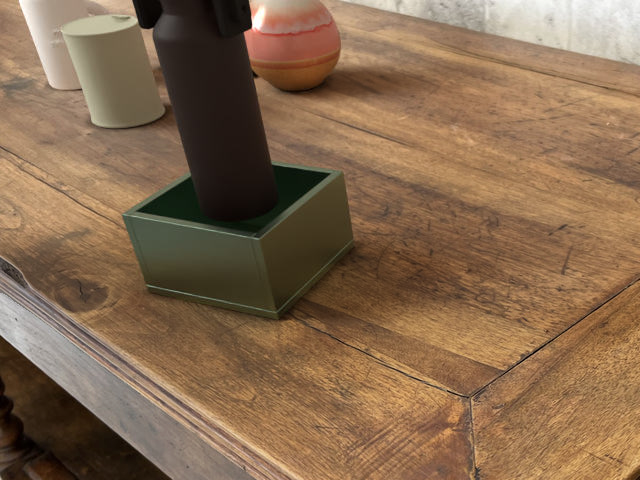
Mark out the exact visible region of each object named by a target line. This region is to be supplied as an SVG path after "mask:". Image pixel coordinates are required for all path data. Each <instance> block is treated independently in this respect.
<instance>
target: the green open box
mask: <svg viewBox="0 0 640 480" xmlns="http://www.w3.org/2000/svg"><path fill="white" fill-rule="evenodd" d="M271 163H272V167H273V172H274V177H275V182H276V186H277V191H278V196H279V201H278V203H277V205H276V207H275V208H274V209H272V210H271V211H270V212H269V213H267V214H265V215H263V216H261V217H258V218H255V219H251V220H247V221H241V222H222V221H216V220H213V219H211V218H208V217H206V216H205V215H204V214H203V213H202V211H201V209H200V205H199V202H198V198H197V195H196V191H195V188H194V184H193V180H192V177H191V173H190V170H189V171H188V172H185V173H184V174H182V175H181V176H179V177H178V178H176V179H175V180H173V181H172V182H170V183H168V184H167V185H165V186H163V187H162V188H160V189H159V190H157V191H156V192H154V193H153V194H150V195H149V196H148V197H146V198H145V199H143V200H141V201H140V202H138V203H137V204H135V205H133V206H132V207H130V208H129V209H127V210H125V211H124V212H122V213H121V218H122V220H123V223H124V226H125V229H126V232H127V234H128V238H129V240H130V243H131V246H132V249H133V251H134V254H135V257H136V260H137V263H138V266H139V268H140V272H141V274H142V277H143V280H144V283H145V286H146V288H147V292H148V293H149V294H155V295H158V296H164V297H168V298H173V299H178V300H183V301H187V302H190V303H191V302H192V303H197V304H202V305H206V306H211V307H216V308H219V309H220V308H221V309H225V310H230V311H235V312H239V313H244V314H248V315H253V316H258V317H263V318H267V319H271V320H277V321H279V320H280V319H281V318H282V317H283V316H284V315H285V314H286V313H287V312H288V311H289V310H291V308H292V307H293V306H295V305H296V303H298V302H299V300H301V299H302V298H303V297H304V296H305V295H306V294H307V293H308V292H309V291H310V290H311V289H312V288H313V287H314V286H315V285H316V284H317V283H318V282H319V281H320V280H321V279H322V278H323V277H324V276H325V275H327V273H329V271H331V269H332V268H334V266H335V265H337V264H338V263H339V262H340V261H341V260H342V259H343V258H344V257H345V256H346V255H347V254H349V252H350V251H352V249H353V248H354V247H355V245H356V244H355V239H354V233H353V226H352V225H353V224H352V219H351V212H350V207H349V199H348V194H347V187H346V181H345V174H344V173H345V172H344V171H343V170H339V169H333V168H325V167H318V166H313V165H305V164H298V163H292V162H286V161H279V160H273V159H271Z"/></svg>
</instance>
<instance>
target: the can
mask: <svg viewBox="0 0 640 480" xmlns="http://www.w3.org/2000/svg"><path fill="white" fill-rule="evenodd" d="M61 32H62V34H63V37H64V39H65V42H66V44H67V47H68V50H69V53H70V56H71V58H72V61H73V64H74V67H75V70H76V72H77V75H78V78H79V81H80V84H81V87H82V89H81V90H82V92H83V95H84V98H85V101H86V105H87V108H88V111H89V115H90V120H91V122H92V124H93V125H95V126H97V127H100V128H103V129H128V128H134V127H139V126H144V125H147V124H149V123H150V124H151V123H152V122H155V121H157V120H159V119H160V118H161V117H163V116H164V114H165V113H166V108H165V106H164V104H163V102H162V97H161V95H160V92H159V88H158V86H157V82H156V78H155V76H154V72H153V68H152V64H151V61H150V58H149V54H148V51H147V47H146V43H145V39H144V37H143V36H144V35H143V32H142V28H141V27H140V26H139V23H138V19H137V16H134V15H128V14H115V13H114V14H112V15H98V16H94V15H92V16H89V17H85V18H81V19H77V20H74V21H71V22H68V23H66V24H64V25H63V26H62V27H61Z"/></svg>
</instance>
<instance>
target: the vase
mask: <svg viewBox="0 0 640 480" xmlns="http://www.w3.org/2000/svg"><path fill="white" fill-rule="evenodd" d="M249 4H250V8H251V19H252V28H251V29H250V30H248V31H245V32H244V35H245V40H246V44H247V49H248V54H249V59H250V63H251V68H252V70H253V71H254V72H255V73H256V75H257V76H258V77H259V78H261V80H264V81H266V82H267V83H269V84H270V85H271V86H273V87H274V88H276V89H278V90H282V91H286V92H288V91H289V92H299V91H305V90H311V89H314V88H316V87H318V86H320V85H322V84H323V82H325V80H326V79H327V77H328V76H330V75H331V73H332V72H333V71H334V69H336V66H337V65H338V62H339V60H340V57H341V52H342V41H341V36H340V30H339V28H338V24H337V22H336V20H335V18H334V16H333V14H332V12H331V11H330V10H329V8H328V7H327V6H326V5H325V4H324V3H323V1H321V0H251V1H249Z"/></svg>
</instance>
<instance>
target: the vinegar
mask: <svg viewBox="0 0 640 480" xmlns="http://www.w3.org/2000/svg"><path fill="white" fill-rule="evenodd" d="M159 1H161V5H162V9H163V12H162V14H161V16H160V18H159V19H158V21H157V23H156V24H155V26H154V28H152V32H151V33H152V34H151V37H152V41H153V44H154V48H155V49H154V50H155V52H156V56H157V59H158V63H159V66H160V70H161V74H162V77H163V81H164V84H165V87H166V91H167V94H168V95H167V96H168V98H169V102H170V105H171V109H172V113H173V116H174V120H175V123H176V126H177V131H178V134H179V138H180V141H181V144H182V148H183V151H184V156H185V158H186V162H187V166H188V169H189V171H190V173H191V177H192V180H193V184H194V188H195V191H196V195H197V198H198V202H199V205H200V209H201V211H202V213H203V214H204V215H205V216H206V217H208V218H211V219H213V220H216V221H222V222H241V221H247V220H251V219H255V218H258V217H261V216H263V215H265V214H267V213H269V212H270V211H271V210H272V209H274V208H275V207H276V205H277V203H278V201H279V196H278V191H277V186H276V182H275V177H274V172H273V167H272V163H271V160H272V158H271V153H270V150H269V144H268V140H267V134H266V129H265V125H264V121H263V116H262V111H261V107H260V102H259V97H258V92H257V88H256V83H255V78H254V75H253V73H252V68H251V63H250V59H249V54H248V49H247V44H246V40H245V35H244V32H243V33H241V34H239V35H237V36H235V37H232V38H226V37H224V36H223V35H222V34H221V32H220V28H219V24H218V20H217V15H216V11H215V7H214V2H213V0H159Z"/></svg>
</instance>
